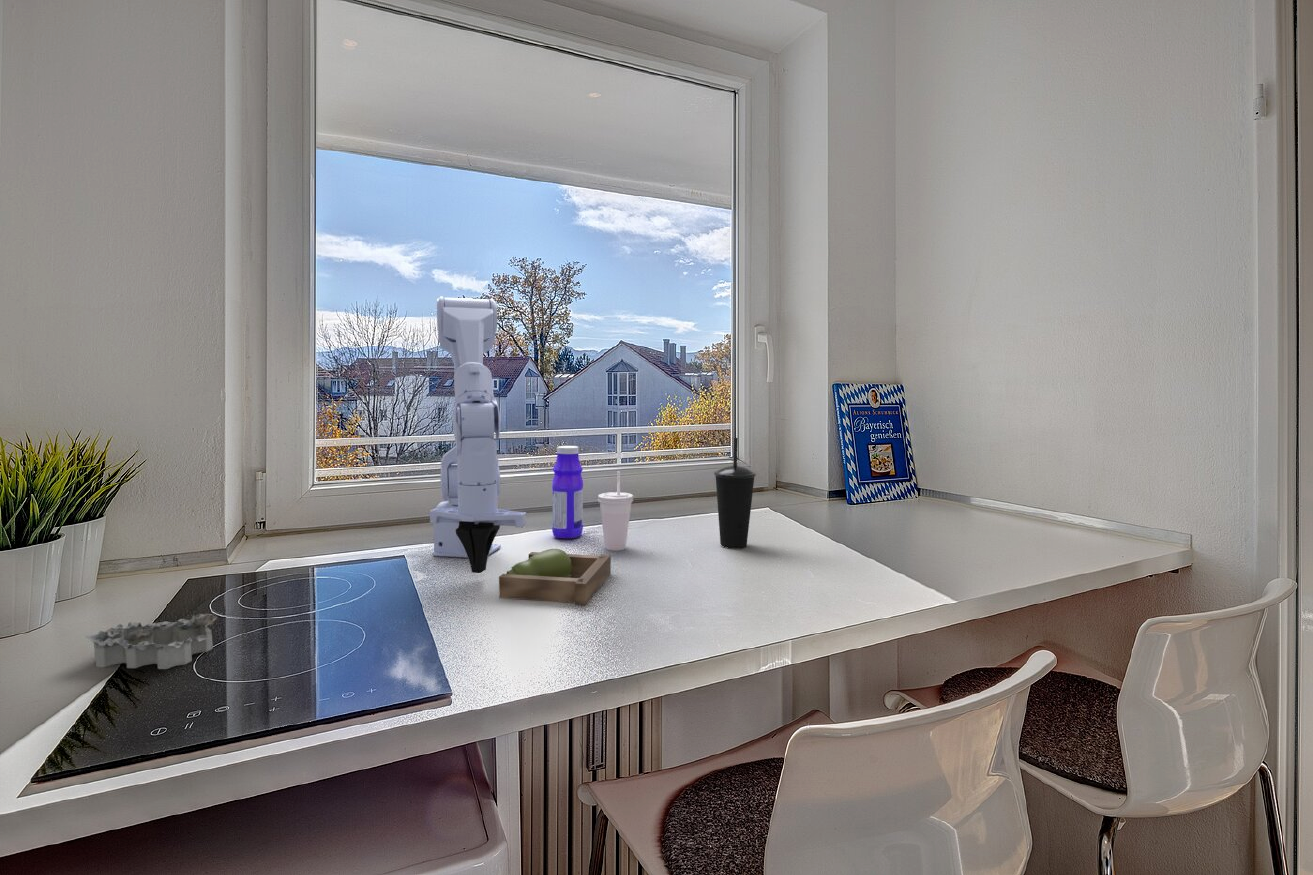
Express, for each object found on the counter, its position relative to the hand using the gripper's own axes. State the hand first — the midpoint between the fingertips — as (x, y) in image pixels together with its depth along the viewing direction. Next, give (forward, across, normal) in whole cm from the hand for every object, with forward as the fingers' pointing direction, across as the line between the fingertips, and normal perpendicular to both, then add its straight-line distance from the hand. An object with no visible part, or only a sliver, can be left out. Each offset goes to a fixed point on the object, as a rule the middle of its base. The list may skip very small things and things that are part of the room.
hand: (478, 571), depth 104 cm
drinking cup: (+2, +37, +29) cm, 47 cm away
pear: (+2, +10, 0) cm, 10 cm away
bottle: (+2, +5, +30) cm, 30 cm away
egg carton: (+2, -24, -32) cm, 40 cm away
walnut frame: (+2, +12, 0) cm, 12 cm away
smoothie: (+2, +16, +23) cm, 28 cm away
